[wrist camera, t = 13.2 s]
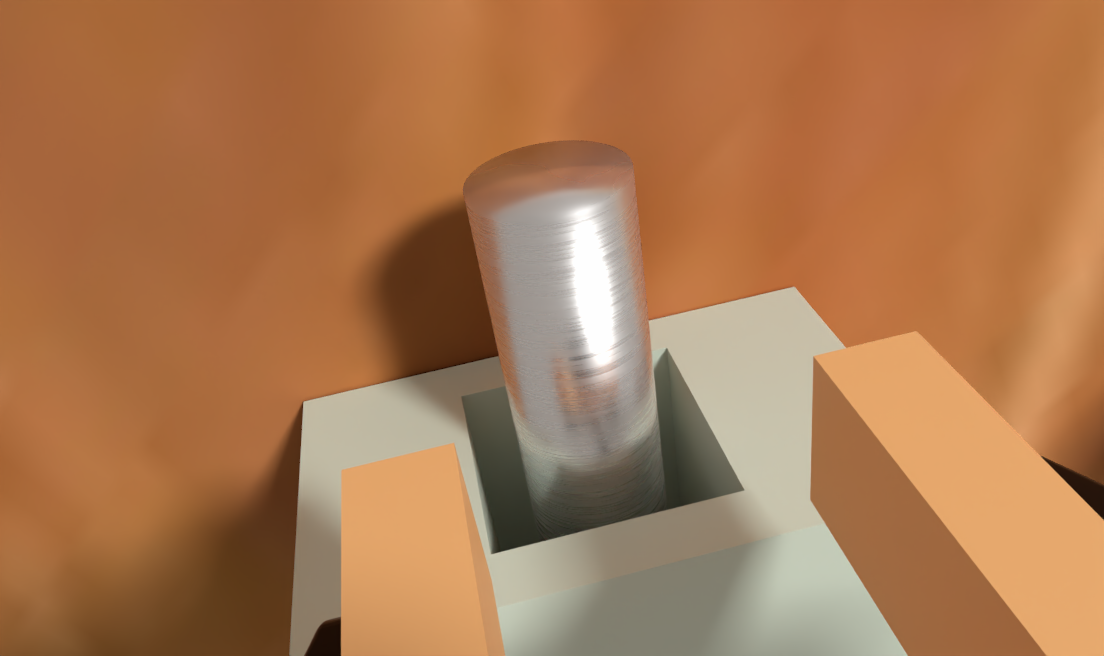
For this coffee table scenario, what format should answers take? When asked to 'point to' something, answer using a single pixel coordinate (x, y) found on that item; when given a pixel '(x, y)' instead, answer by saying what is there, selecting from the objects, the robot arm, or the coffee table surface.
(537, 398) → the pin
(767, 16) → the coffee table surface
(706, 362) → the block
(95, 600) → the coffee table surface
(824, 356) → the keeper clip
